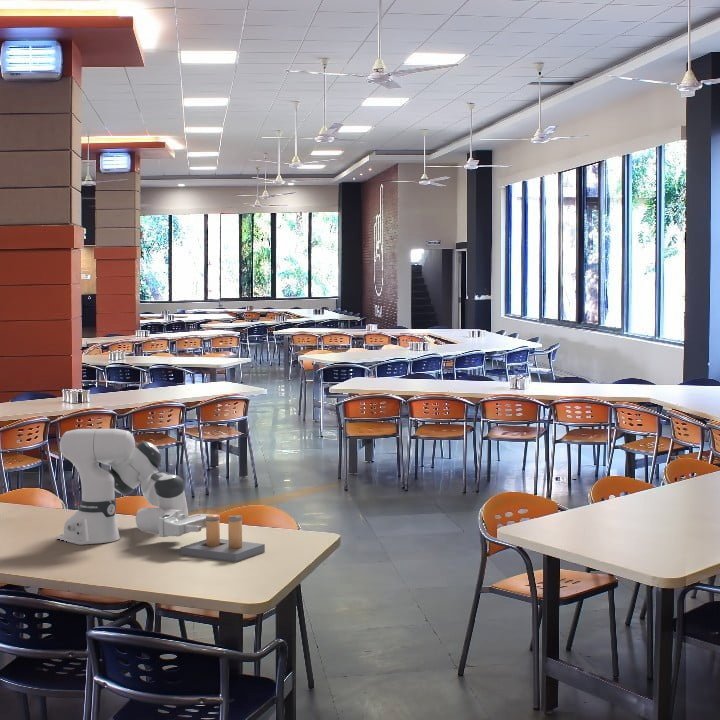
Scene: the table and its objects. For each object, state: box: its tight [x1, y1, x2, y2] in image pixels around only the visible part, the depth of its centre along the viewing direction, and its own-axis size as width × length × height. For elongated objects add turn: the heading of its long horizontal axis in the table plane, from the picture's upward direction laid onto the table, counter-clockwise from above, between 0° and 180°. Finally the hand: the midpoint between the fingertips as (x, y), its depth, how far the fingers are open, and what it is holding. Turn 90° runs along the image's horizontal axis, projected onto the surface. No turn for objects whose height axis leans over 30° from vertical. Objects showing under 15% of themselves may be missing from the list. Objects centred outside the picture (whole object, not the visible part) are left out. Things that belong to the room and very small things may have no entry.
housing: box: [180, 514, 266, 563], centre depth 325 cm, size 22×16×12 cm
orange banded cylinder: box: [205, 514, 221, 547], centre depth 327 cm, size 4×4×12 cm
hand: (208, 526), depth 328 cm, fingers open, 8 cm apart
